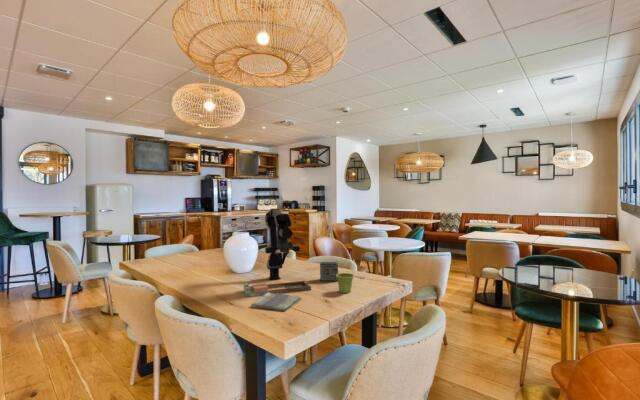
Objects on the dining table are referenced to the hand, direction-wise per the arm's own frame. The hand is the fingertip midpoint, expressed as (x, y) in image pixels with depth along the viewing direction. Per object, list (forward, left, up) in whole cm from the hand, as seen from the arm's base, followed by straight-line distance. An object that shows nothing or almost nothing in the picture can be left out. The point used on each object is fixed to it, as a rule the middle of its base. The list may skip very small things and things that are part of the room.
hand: (282, 264), depth 176 cm
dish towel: (+25, -8, -13) cm, 29 cm away
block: (+6, -13, -13) cm, 20 cm away
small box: (-4, +29, -13) cm, 32 cm away
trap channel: (+5, -4, -13) cm, 14 cm away
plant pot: (+20, +29, -13) cm, 37 cm away
